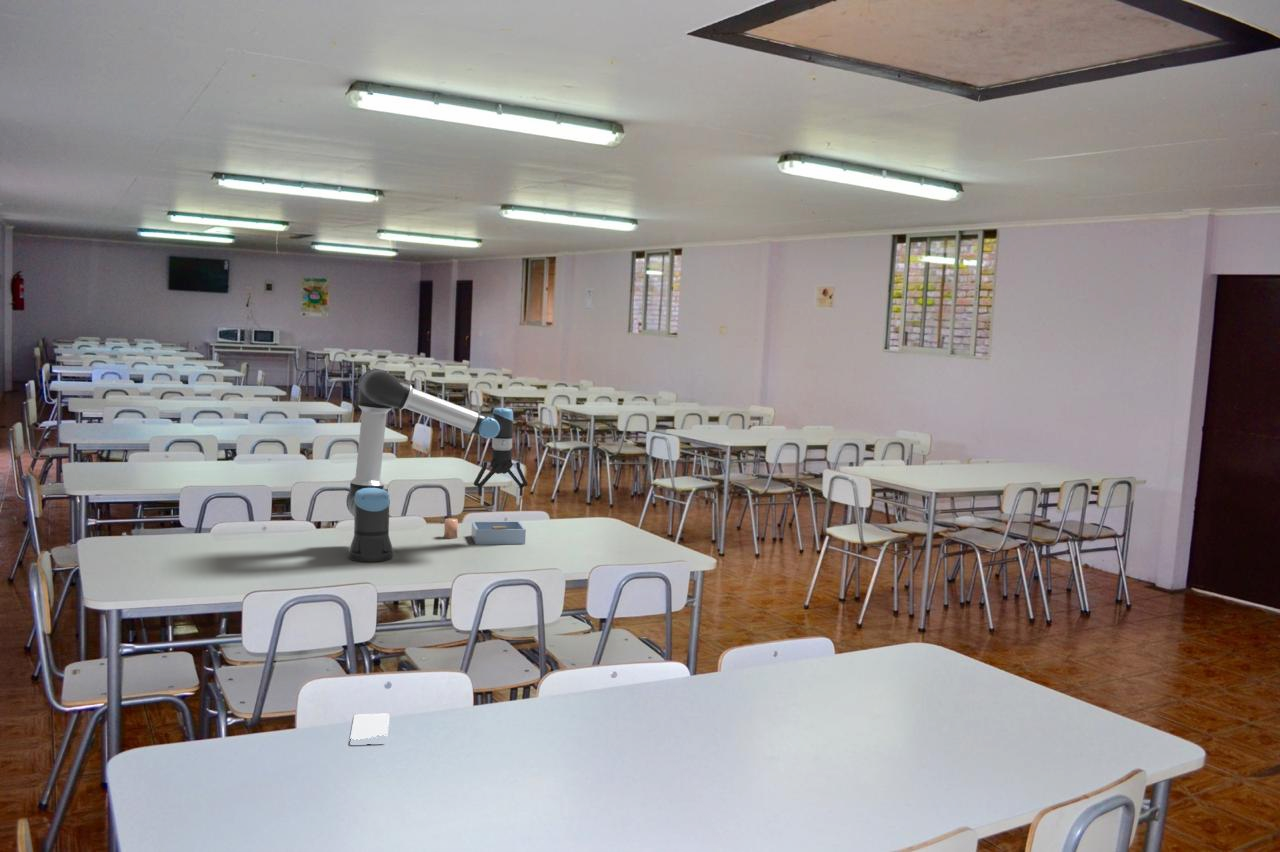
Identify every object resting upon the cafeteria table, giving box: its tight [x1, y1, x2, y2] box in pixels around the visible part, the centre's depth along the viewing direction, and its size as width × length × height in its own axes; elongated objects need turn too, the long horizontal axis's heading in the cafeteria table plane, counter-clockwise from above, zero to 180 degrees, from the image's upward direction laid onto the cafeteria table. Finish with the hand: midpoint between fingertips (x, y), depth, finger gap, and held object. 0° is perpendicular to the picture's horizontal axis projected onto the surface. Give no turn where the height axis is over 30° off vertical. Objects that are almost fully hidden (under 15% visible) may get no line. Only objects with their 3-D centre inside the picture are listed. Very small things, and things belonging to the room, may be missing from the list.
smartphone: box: [349, 712, 391, 740], centre depth 202 cm, size 7×1×15 cm
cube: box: [492, 526, 507, 529], centre depth 378 cm, size 5×5×5 cm
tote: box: [470, 520, 527, 546], centre depth 381 cm, size 19×16×6 cm
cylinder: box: [443, 517, 459, 540], centre depth 382 cm, size 5×5×7 cm
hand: (499, 504), depth 377 cm, fingers open, 13 cm apart
